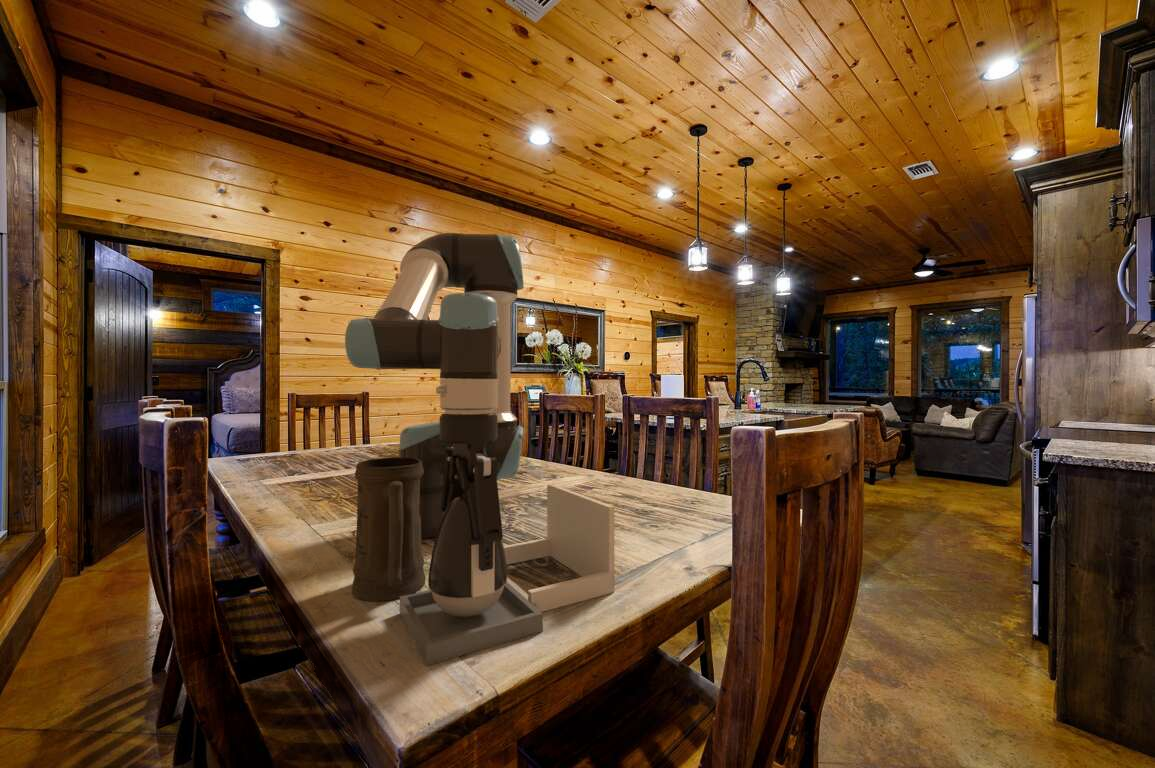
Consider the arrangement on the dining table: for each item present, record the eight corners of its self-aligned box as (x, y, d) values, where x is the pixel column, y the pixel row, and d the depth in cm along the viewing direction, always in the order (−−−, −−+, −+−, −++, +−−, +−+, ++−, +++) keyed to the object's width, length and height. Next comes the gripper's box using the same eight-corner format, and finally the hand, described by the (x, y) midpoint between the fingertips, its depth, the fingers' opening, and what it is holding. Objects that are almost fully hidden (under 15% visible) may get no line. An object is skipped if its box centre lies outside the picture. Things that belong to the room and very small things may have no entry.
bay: (480, 567, 83) (480, 492, 83) (551, 553, 90) (552, 483, 90) (531, 614, 66) (531, 519, 66) (614, 592, 73) (614, 506, 73)
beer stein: (343, 581, 77) (345, 457, 76) (411, 566, 83) (414, 452, 82) (367, 627, 65) (369, 479, 63) (444, 605, 71) (448, 471, 70)
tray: (399, 613, 66) (399, 596, 66) (499, 590, 74) (499, 575, 74) (426, 666, 54) (426, 645, 54) (542, 631, 61) (542, 613, 61)
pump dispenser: (494, 585, 71) (495, 482, 71) (517, 616, 62) (517, 497, 62) (422, 598, 67) (423, 488, 67) (435, 634, 57) (435, 506, 57)
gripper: (419, 408, 72) (419, 557, 72) (469, 417, 52) (469, 621, 52) (468, 407, 76) (468, 549, 76) (531, 415, 56) (531, 605, 56)
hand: (468, 578), depth 64 cm, fingers closed on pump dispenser, 10 cm apart
